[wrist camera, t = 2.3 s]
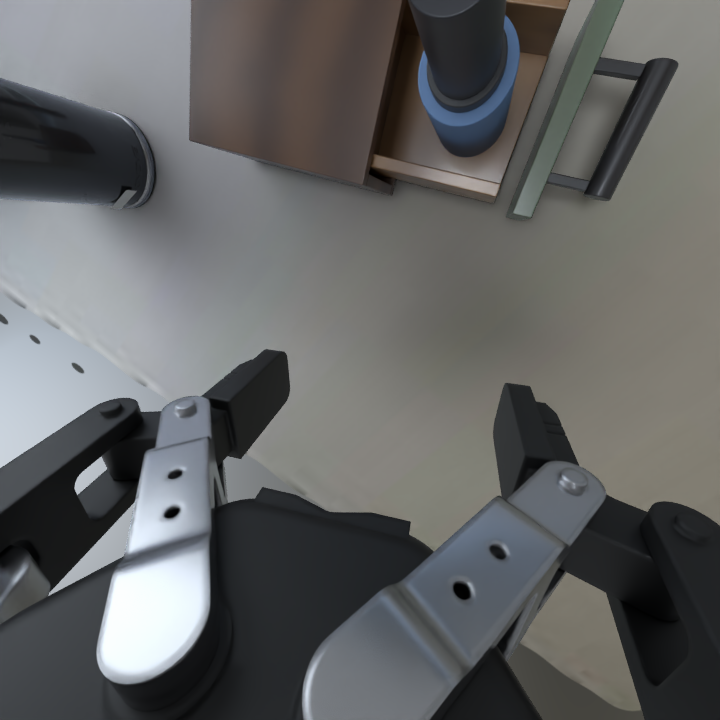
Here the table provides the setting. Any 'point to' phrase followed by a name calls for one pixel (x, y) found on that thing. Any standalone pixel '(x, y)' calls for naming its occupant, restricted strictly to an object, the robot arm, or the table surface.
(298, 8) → the cabinet
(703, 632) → the robot arm
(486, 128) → the black and blue cylinder
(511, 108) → the drawer
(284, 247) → the table surface
